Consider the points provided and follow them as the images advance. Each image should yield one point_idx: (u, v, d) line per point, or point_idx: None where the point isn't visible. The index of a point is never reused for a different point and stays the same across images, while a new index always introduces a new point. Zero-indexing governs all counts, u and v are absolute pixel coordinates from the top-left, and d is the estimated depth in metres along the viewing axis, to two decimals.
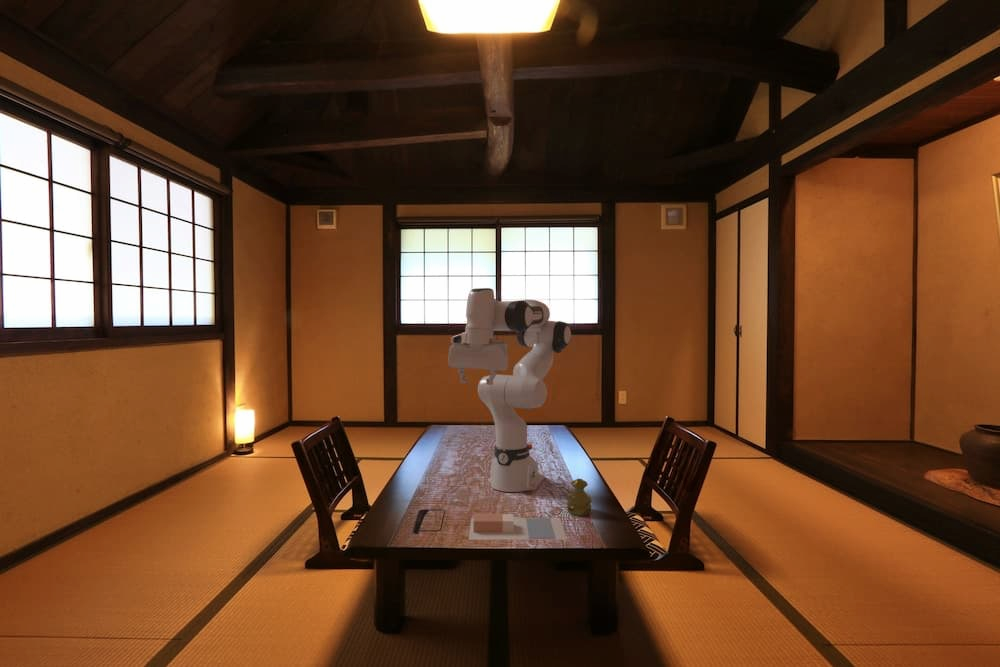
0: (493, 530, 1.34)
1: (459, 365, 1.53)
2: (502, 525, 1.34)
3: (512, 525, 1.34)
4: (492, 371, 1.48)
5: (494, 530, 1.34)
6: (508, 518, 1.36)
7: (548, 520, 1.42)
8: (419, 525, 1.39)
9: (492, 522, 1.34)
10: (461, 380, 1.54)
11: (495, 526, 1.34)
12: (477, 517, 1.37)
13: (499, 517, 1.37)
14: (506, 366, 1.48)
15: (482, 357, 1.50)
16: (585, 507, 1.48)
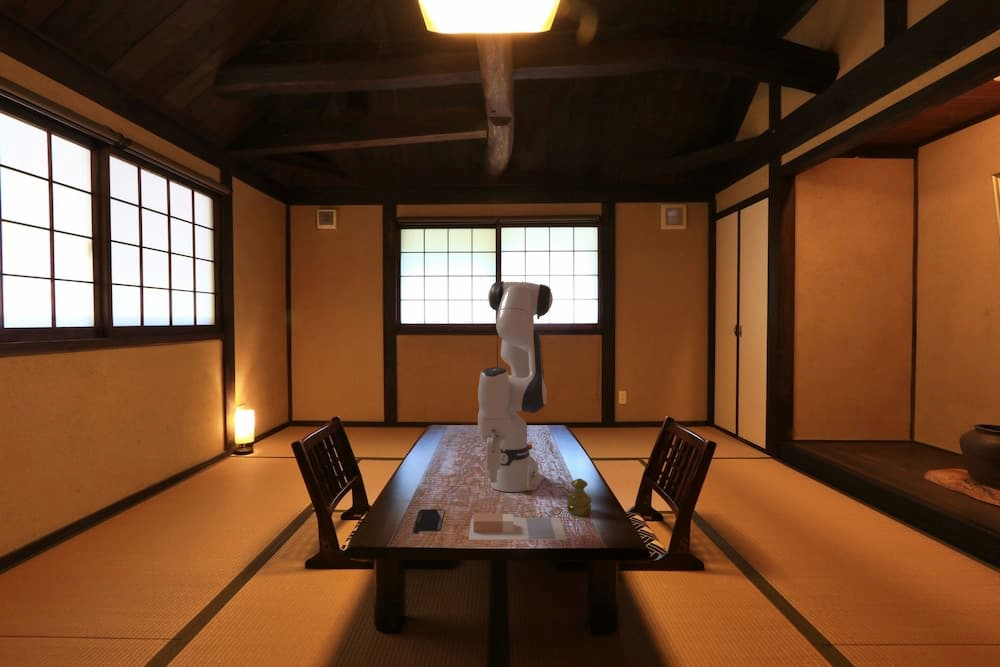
0: (493, 530, 1.34)
1: None
2: (502, 525, 1.34)
3: (512, 525, 1.34)
4: None
5: (494, 530, 1.34)
6: (508, 518, 1.36)
7: (548, 520, 1.42)
8: (419, 525, 1.39)
9: (492, 522, 1.34)
10: None
11: (495, 526, 1.34)
12: (477, 517, 1.37)
13: (499, 517, 1.37)
14: (495, 466, 1.26)
15: None
16: (585, 507, 1.48)
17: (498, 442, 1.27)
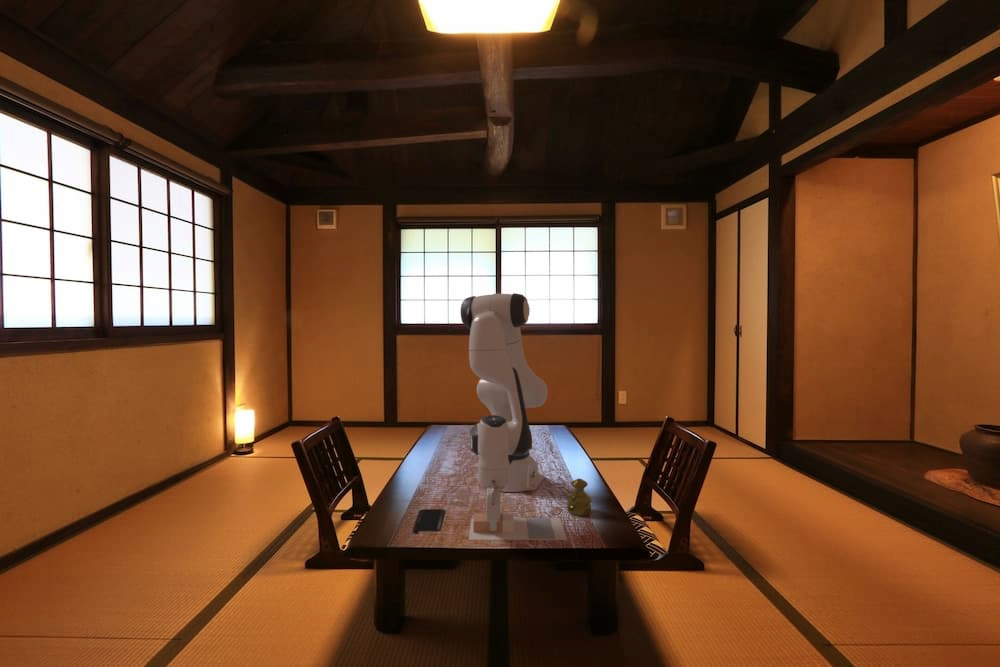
0: None
1: None
2: (502, 525, 1.34)
3: (512, 525, 1.34)
4: None
5: None
6: (508, 518, 1.36)
7: (548, 520, 1.42)
8: (419, 525, 1.39)
9: None
10: None
11: None
12: (477, 517, 1.37)
13: None
14: (494, 518, 1.27)
15: None
16: (585, 507, 1.48)
17: (498, 494, 1.28)
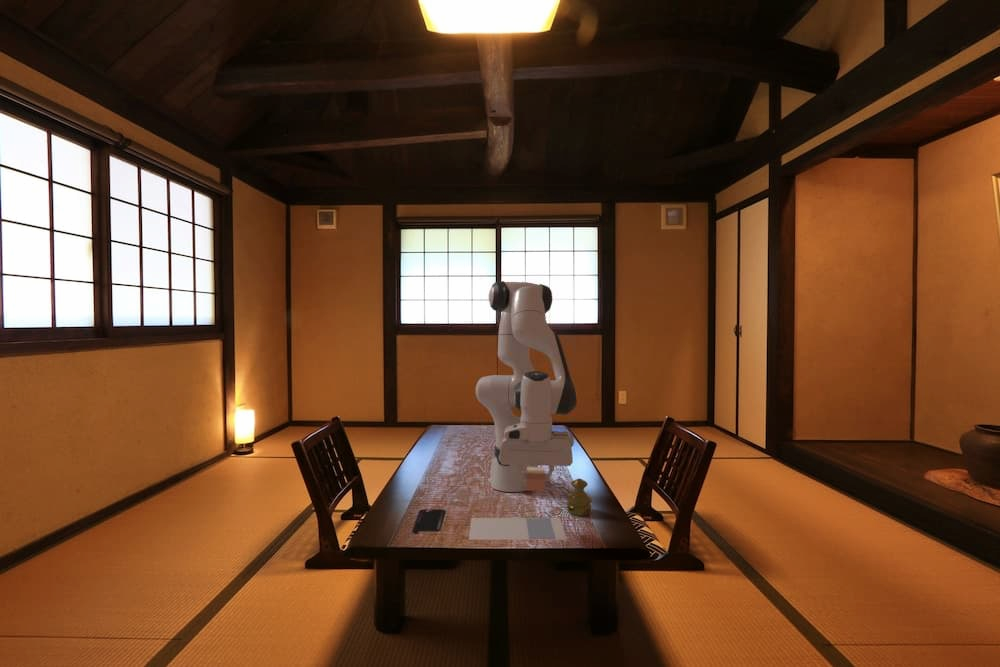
0: None
1: (515, 462, 1.35)
2: None
3: None
4: (552, 467, 1.35)
5: None
6: (536, 468, 1.41)
7: (548, 520, 1.42)
8: (419, 525, 1.39)
9: (544, 475, 1.36)
10: (523, 478, 1.36)
11: None
12: (536, 478, 1.32)
13: (535, 471, 1.38)
14: None
15: (545, 452, 1.34)
16: (585, 507, 1.48)
17: None
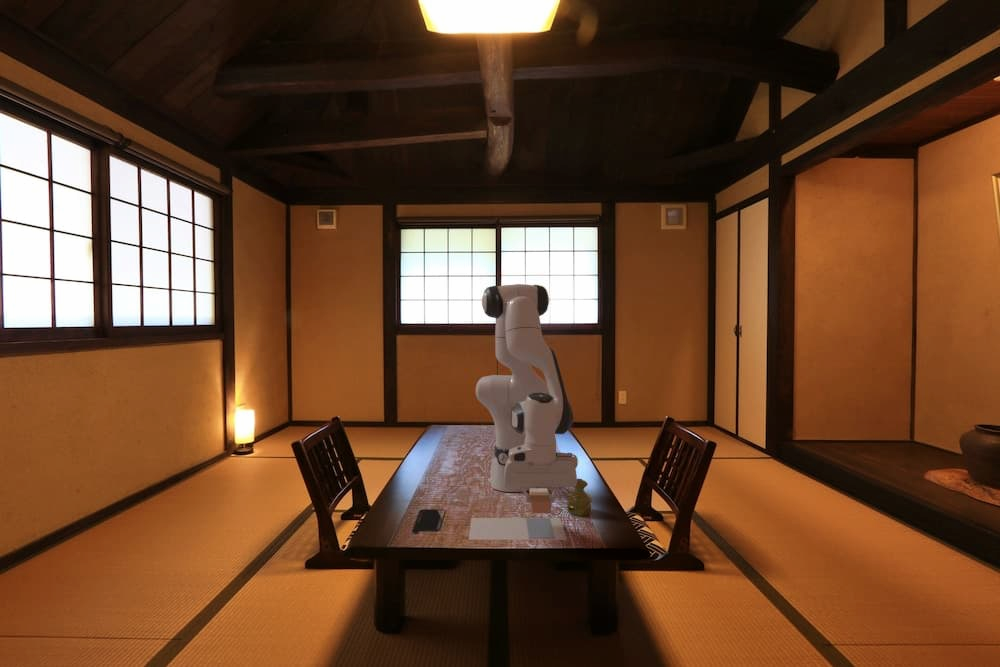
0: None
1: (520, 485, 1.34)
2: None
3: None
4: (557, 488, 1.35)
5: None
6: (539, 489, 1.41)
7: (548, 520, 1.42)
8: (419, 525, 1.39)
9: None
10: (527, 500, 1.35)
11: None
12: (541, 500, 1.32)
13: (539, 492, 1.38)
14: None
15: (550, 474, 1.34)
16: (585, 507, 1.48)
17: None
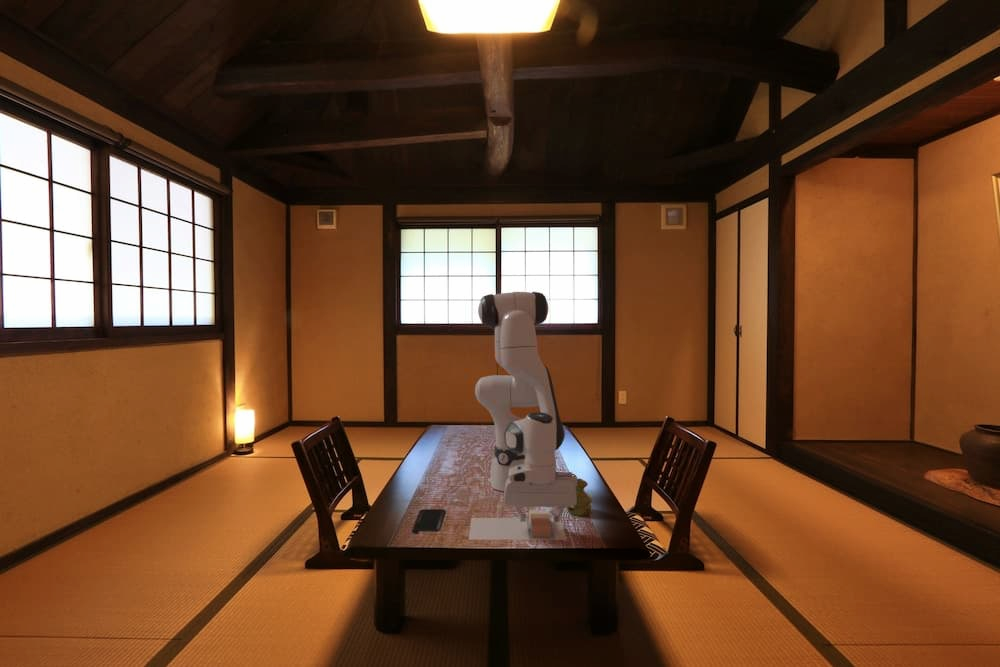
0: None
1: (520, 504, 1.35)
2: None
3: None
4: (562, 508, 1.36)
5: None
6: (539, 511, 1.41)
7: None
8: (419, 525, 1.39)
9: (548, 519, 1.37)
10: (522, 520, 1.36)
11: None
12: (541, 524, 1.32)
13: (538, 514, 1.38)
14: None
15: (550, 494, 1.35)
16: (585, 507, 1.48)
17: None
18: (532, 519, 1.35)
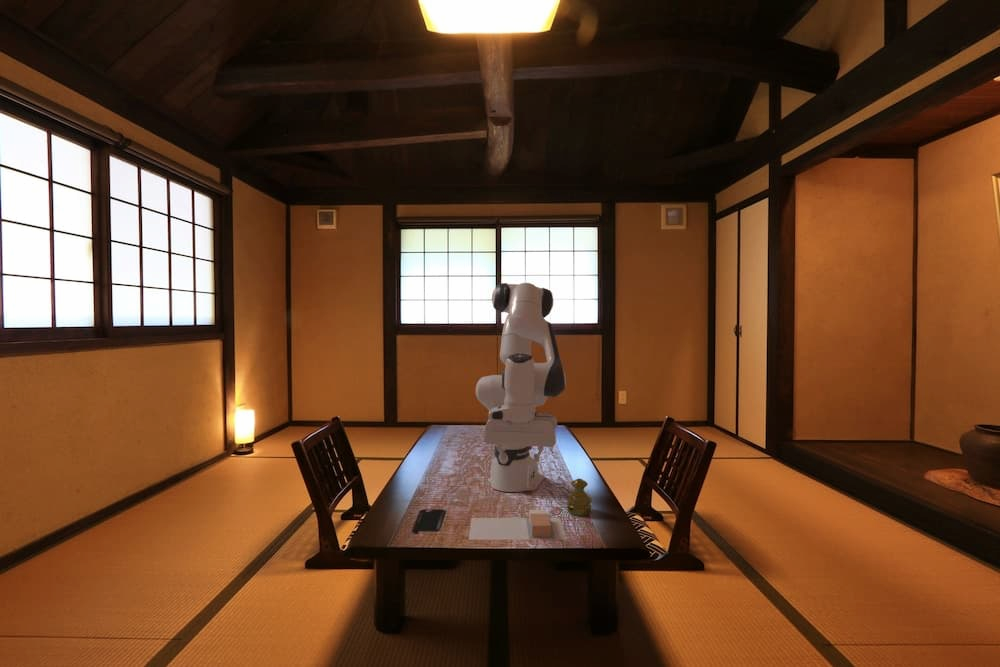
0: None
1: (499, 442, 1.38)
2: None
3: None
4: (541, 448, 1.37)
5: None
6: (539, 511, 1.41)
7: None
8: (418, 525, 1.39)
9: (548, 519, 1.37)
10: (502, 458, 1.39)
11: None
12: (541, 524, 1.32)
13: (538, 514, 1.38)
14: None
15: (528, 433, 1.36)
16: (585, 507, 1.48)
17: None
18: (532, 519, 1.35)
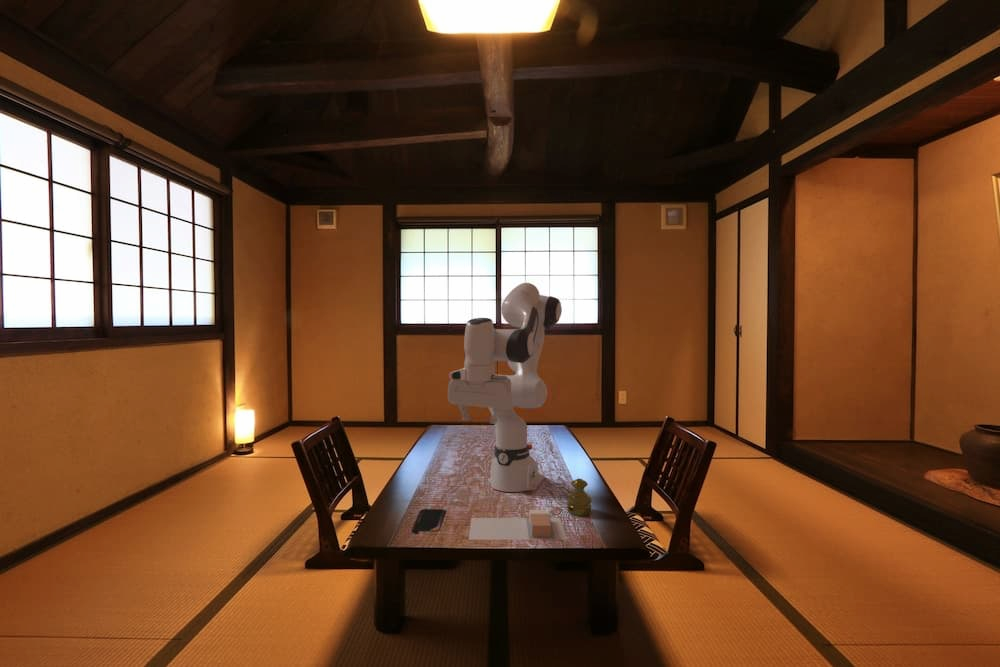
0: None
1: (460, 402, 1.43)
2: None
3: None
4: (495, 410, 1.38)
5: None
6: (539, 511, 1.41)
7: None
8: (418, 525, 1.39)
9: (548, 519, 1.37)
10: (463, 418, 1.44)
11: None
12: (541, 524, 1.32)
13: (538, 514, 1.38)
14: (510, 404, 1.38)
15: (484, 394, 1.39)
16: (585, 507, 1.48)
17: None
18: (532, 519, 1.35)
